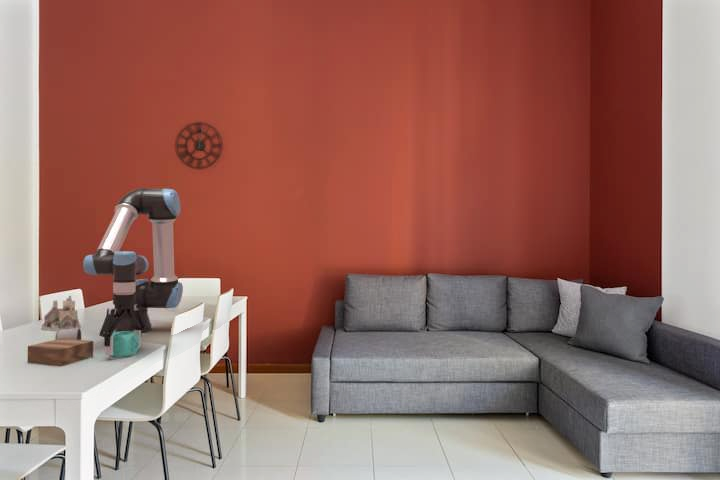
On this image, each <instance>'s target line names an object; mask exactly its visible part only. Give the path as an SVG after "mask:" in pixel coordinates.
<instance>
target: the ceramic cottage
mask: <svg viewBox="0 0 720 480" xmlns="http://www.w3.org/2000/svg"><path fill="white" fill-rule="evenodd" d="M75 305H76V301H75V300H72V296H71V295H69V296H68V297H67V298H66V299H65V300H63V301H62V308H58V300H53V304H52V307H51V308H50V310H49V311H48V312H47V313H46V314H45V315H44V316H43V318H44V320H43V321H44V322H43V324H41V330H43V331H49V332H50V331H51V332H56V333H57V332H58V331H59V330H64V329H74V328H80V329H81V323H80V321H79V319H78V317H79V315H78V309H75V307H76V306H75Z"/></svg>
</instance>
